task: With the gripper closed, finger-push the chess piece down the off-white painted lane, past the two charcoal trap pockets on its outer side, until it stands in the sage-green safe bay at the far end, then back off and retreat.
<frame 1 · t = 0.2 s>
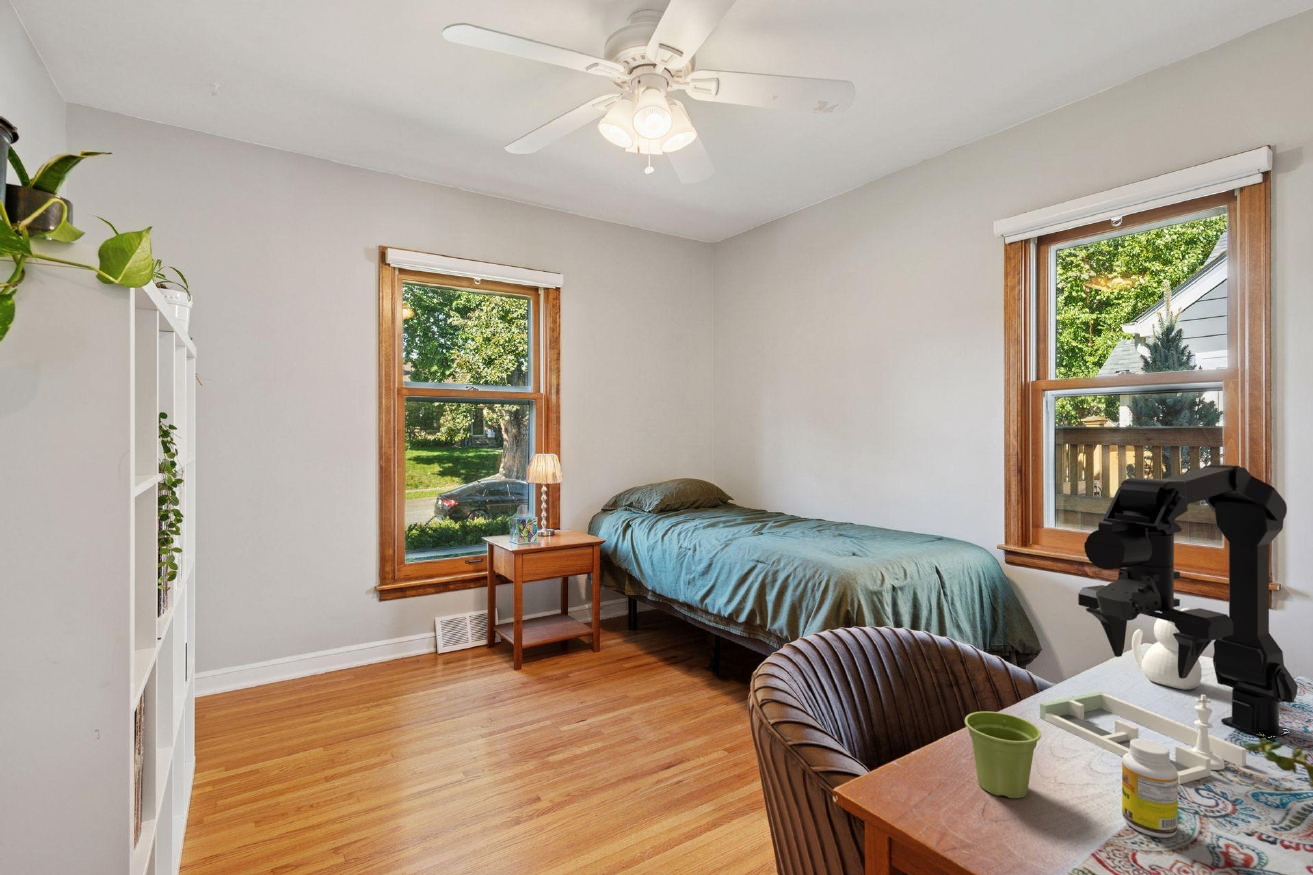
hand: (1149, 666, 97), 14 cm above the table, fingers open, 9 cm apart
supplement bottle: (1148, 827, 81), on the table
chess piece: (1202, 762, 97), on the table
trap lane: (1146, 736, 104), on the table
plant pot: (1001, 788, 90), on the table
cat figurine: (1166, 683, 126), on the table
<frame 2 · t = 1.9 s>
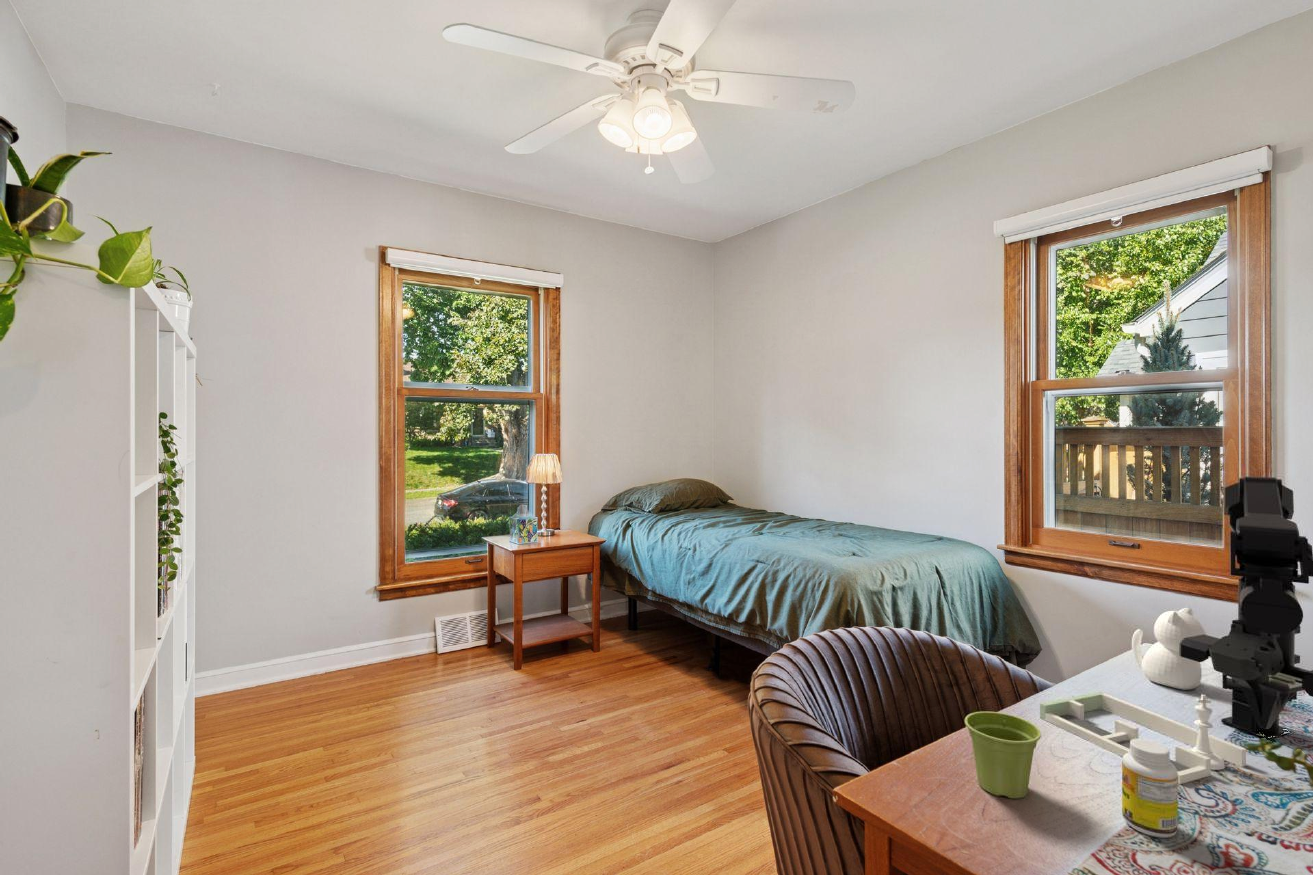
hand: (1264, 727, 90), 8 cm above the table, fingers closed
nothing on the table moved.
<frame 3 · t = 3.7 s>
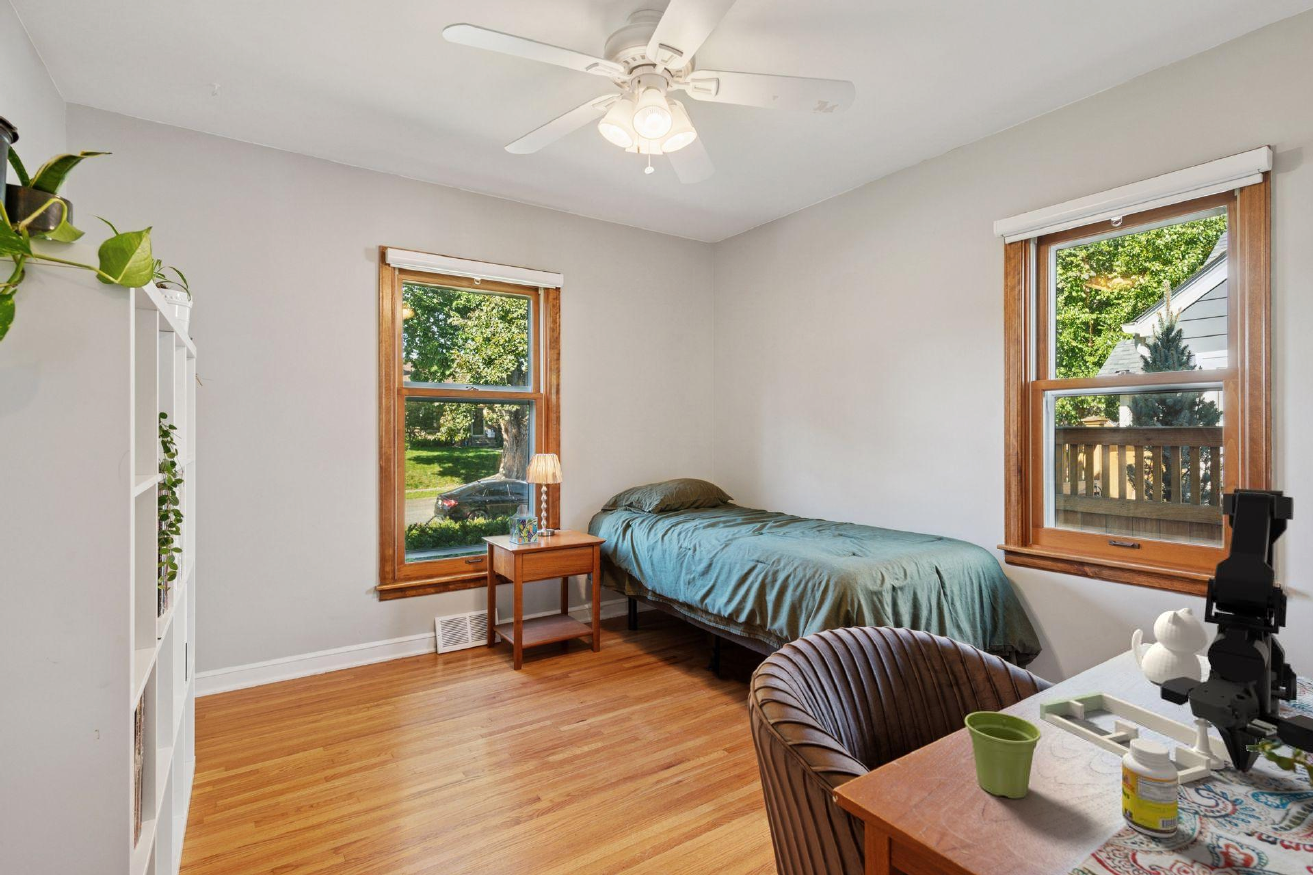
hand: (1241, 770, 92), 1 cm above the table, fingers closed, pressing on chess piece
chess piece: (1202, 762, 97), on the table, touching gripper
everything else where it was.
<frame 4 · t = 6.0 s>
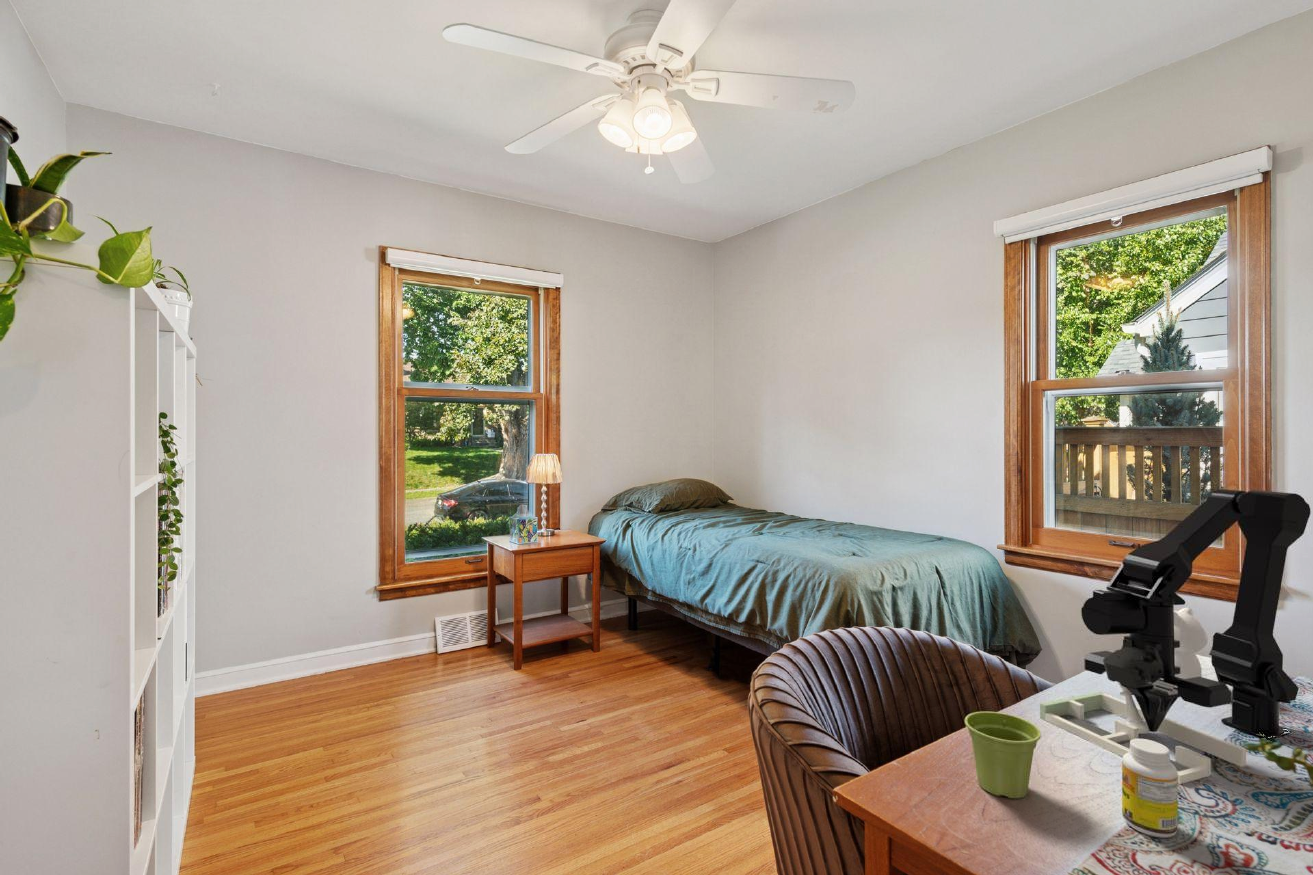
hand: (1153, 731, 103), 2 cm above the table, fingers closed, pressing on chess piece
chess piece: (1139, 731, 105), point 1 cm above the table, touching gripper
everything else where it was.
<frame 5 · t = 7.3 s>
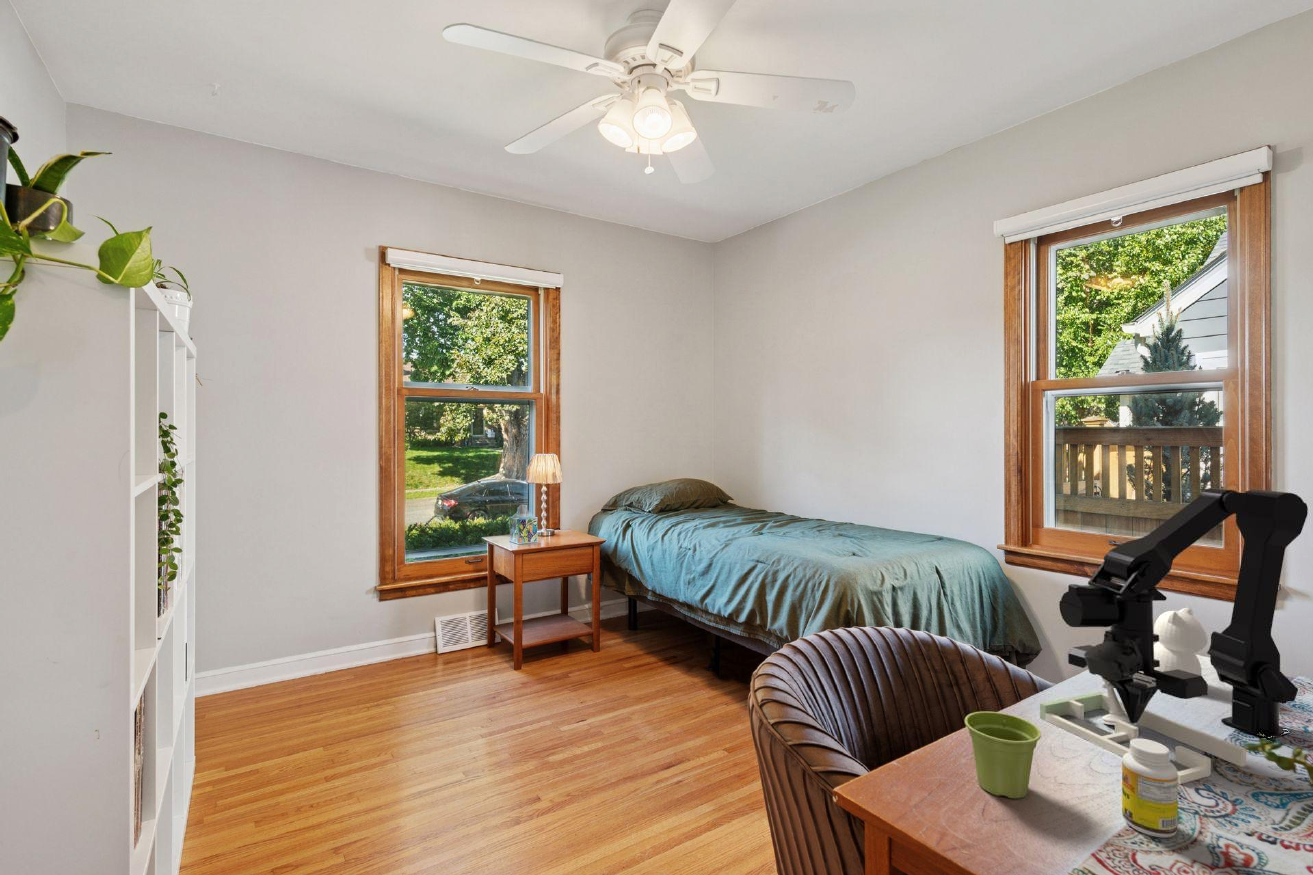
hand: (1133, 722, 106), 2 cm above the table, fingers closed, pressing on chess piece
chess piece: (1120, 723, 108), point 1 cm above the table, touching gripper
everything else where it was.
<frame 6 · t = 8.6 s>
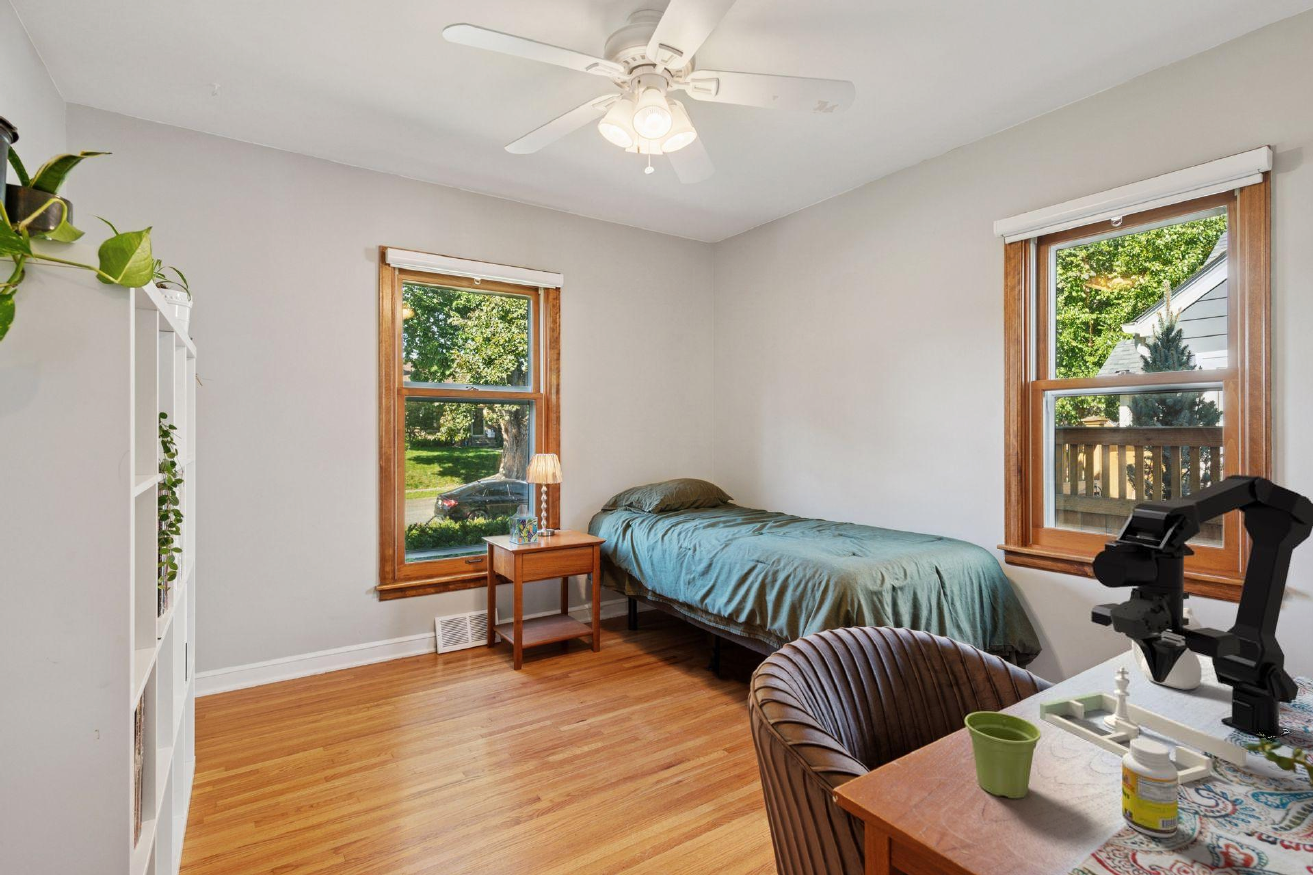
hand: (1159, 681, 102), 10 cm above the table, fingers closed
chess piece: (1120, 727, 108), on the table
everything else where it was.
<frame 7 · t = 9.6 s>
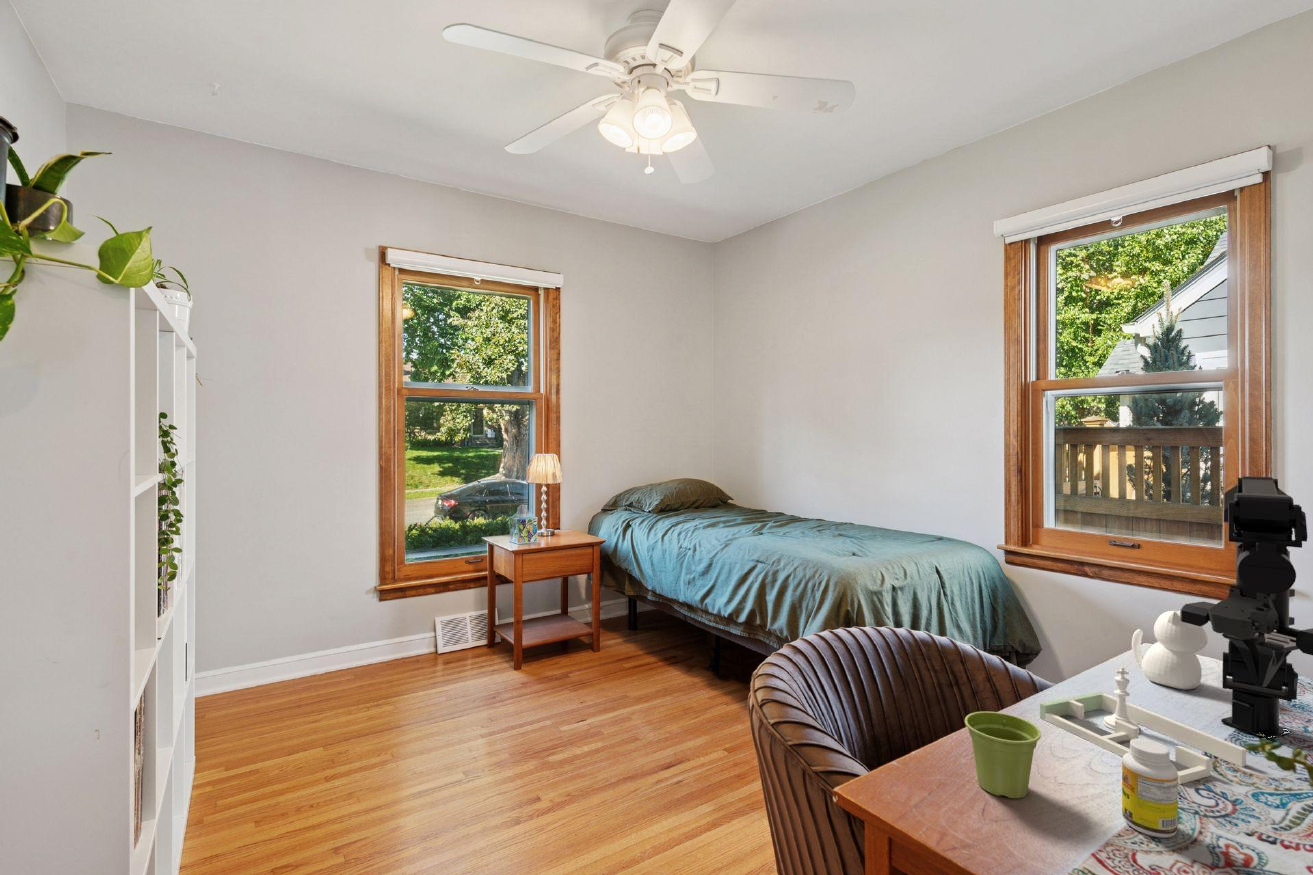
hand: (1261, 686, 95), 12 cm above the table, fingers closed
nothing on the table moved.
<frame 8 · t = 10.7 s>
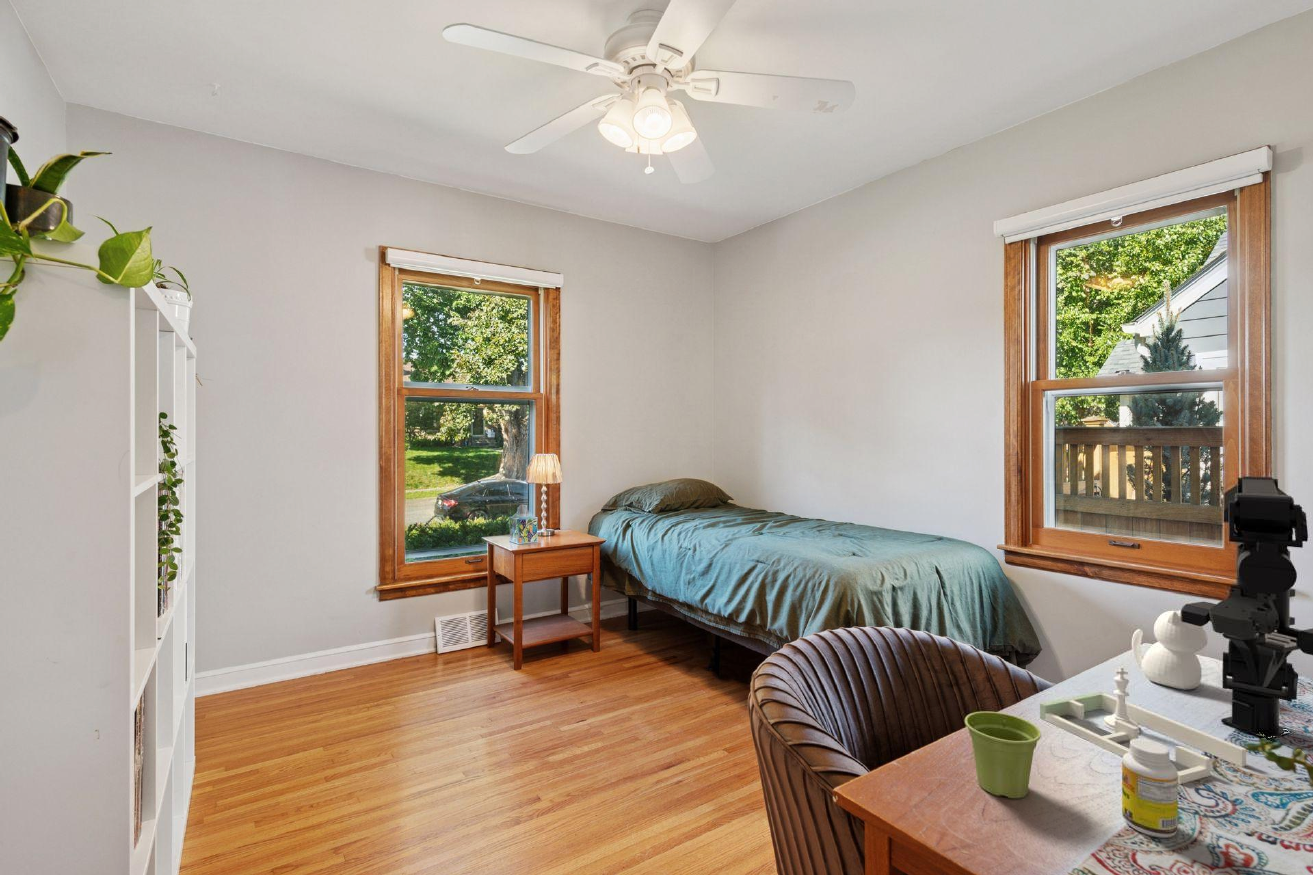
hand: (1261, 686, 95), 12 cm above the table, fingers closed
nothing on the table moved.
at the end: chess piece 2.9 cm from the target spot, on the table; chess piece tilted 1° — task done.
